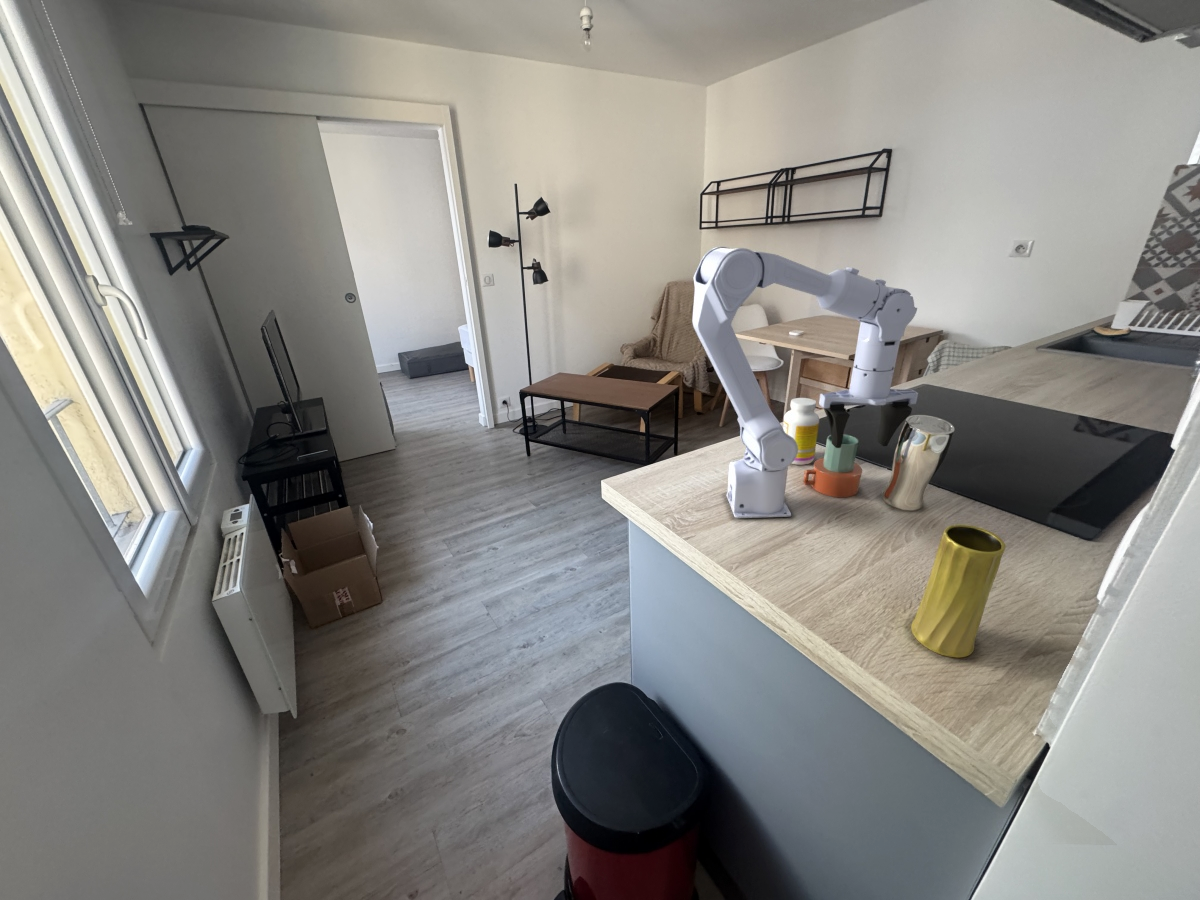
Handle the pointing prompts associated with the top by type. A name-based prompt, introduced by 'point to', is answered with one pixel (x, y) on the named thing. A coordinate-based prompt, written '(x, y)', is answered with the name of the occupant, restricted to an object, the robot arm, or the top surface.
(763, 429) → the robot arm
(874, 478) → the top surface
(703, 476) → the top surface
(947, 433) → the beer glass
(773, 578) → the top surface
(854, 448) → the green faceted cup
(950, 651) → the vase
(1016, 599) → the top surface
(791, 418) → the supplement bottle
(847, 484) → the mug
